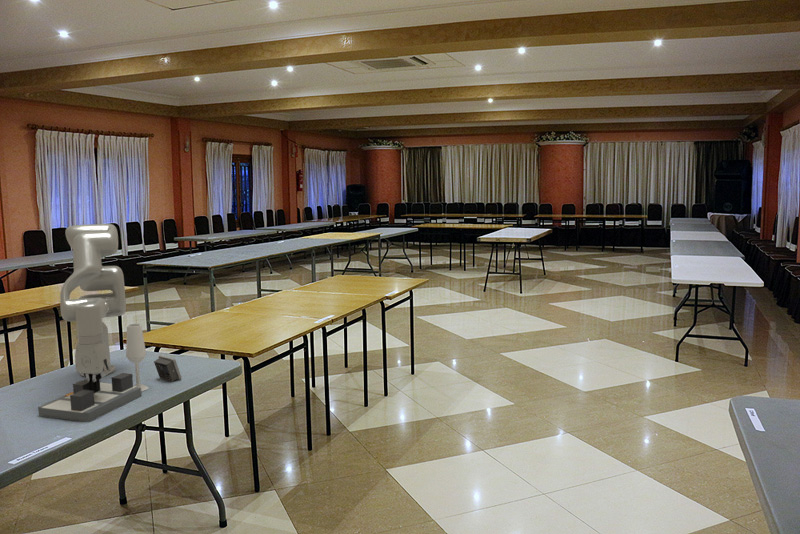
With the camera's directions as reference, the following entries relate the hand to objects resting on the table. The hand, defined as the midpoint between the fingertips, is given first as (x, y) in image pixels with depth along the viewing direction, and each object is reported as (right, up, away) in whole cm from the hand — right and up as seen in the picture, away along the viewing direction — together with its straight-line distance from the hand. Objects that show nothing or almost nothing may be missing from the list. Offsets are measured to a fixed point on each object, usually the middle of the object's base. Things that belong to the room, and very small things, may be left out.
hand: (95, 391), depth 202 cm
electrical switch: (+14, -1, +28) cm, 31 cm away
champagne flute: (+7, -3, +17) cm, 19 cm away
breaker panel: (-2, -5, +1) cm, 5 cm away
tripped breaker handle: (-4, -1, +1) cm, 4 cm away
